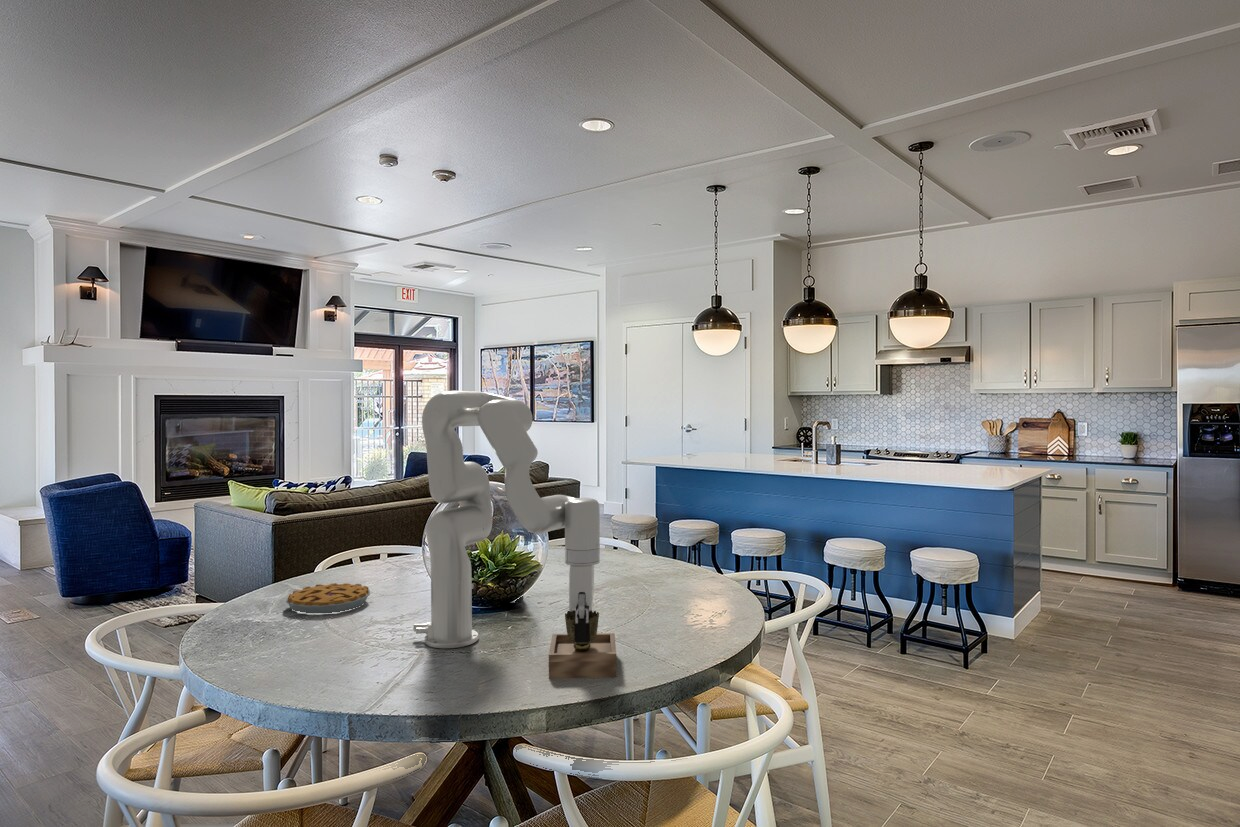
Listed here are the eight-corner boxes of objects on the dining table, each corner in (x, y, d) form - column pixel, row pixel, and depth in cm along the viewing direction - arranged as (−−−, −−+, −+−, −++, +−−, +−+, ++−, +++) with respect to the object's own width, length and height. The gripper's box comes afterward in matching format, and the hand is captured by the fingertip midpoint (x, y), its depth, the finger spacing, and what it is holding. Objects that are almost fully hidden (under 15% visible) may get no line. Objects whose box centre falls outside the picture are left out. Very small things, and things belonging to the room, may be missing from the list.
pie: (268, 615, 200) (268, 596, 199) (319, 594, 221) (319, 578, 221) (339, 620, 194) (339, 601, 194) (385, 599, 216) (384, 582, 216)
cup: (568, 656, 155) (568, 619, 155) (562, 645, 162) (561, 609, 162) (602, 653, 157) (602, 616, 157) (594, 642, 164) (594, 607, 164)
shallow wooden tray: (548, 681, 152) (548, 654, 152) (552, 657, 166) (552, 633, 166) (616, 680, 153) (616, 653, 152) (614, 657, 167) (614, 632, 166)
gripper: (567, 548, 168) (567, 622, 168) (562, 564, 150) (563, 647, 150) (599, 547, 168) (600, 622, 168) (599, 564, 150) (600, 647, 151)
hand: (582, 634), depth 159 cm, fingers open, 9 cm apart
